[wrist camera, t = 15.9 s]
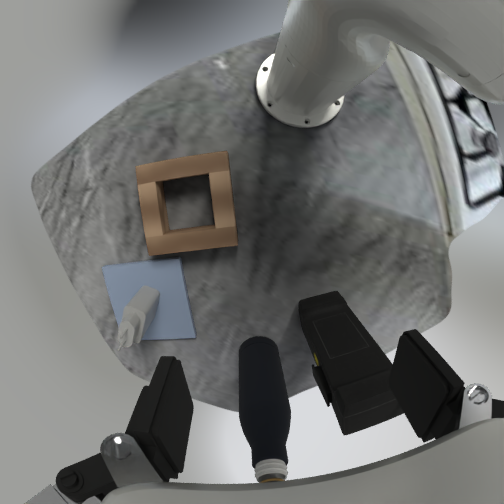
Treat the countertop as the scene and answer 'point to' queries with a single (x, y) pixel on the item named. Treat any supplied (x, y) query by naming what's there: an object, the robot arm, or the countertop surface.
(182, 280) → the blue square plate
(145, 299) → the power adapter
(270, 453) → the black water bottle
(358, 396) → the portable radio
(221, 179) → the walnut collar
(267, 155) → the countertop surface
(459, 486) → the robot arm
